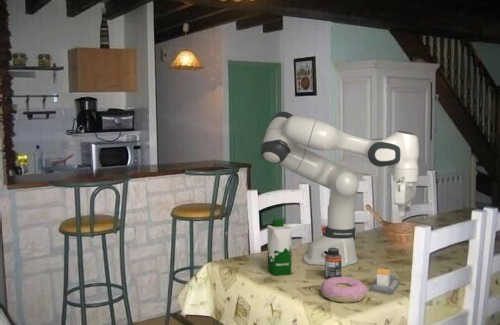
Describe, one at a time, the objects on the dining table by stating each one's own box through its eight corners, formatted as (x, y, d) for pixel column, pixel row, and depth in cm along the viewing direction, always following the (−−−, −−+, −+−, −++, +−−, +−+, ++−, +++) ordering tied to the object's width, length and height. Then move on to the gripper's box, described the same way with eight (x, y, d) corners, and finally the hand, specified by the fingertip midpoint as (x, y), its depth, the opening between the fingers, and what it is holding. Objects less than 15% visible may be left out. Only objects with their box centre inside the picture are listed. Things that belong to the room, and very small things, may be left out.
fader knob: (378, 282, 179) (379, 268, 178) (389, 284, 177) (390, 269, 176) (376, 286, 175) (376, 271, 175) (387, 287, 173) (387, 272, 173)
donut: (342, 308, 160) (342, 293, 159) (311, 294, 172) (311, 280, 172) (377, 298, 168) (377, 284, 167) (344, 285, 181) (344, 272, 180)
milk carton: (286, 268, 201) (286, 218, 199) (294, 275, 192) (294, 223, 191) (265, 270, 199) (265, 219, 197) (272, 277, 190) (272, 224, 188)
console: (378, 279, 187) (378, 273, 187) (400, 282, 183) (400, 276, 183) (369, 291, 175) (369, 284, 174) (392, 294, 171) (392, 288, 171)
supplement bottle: (330, 275, 192) (330, 245, 191) (344, 278, 188) (344, 248, 187) (322, 279, 188) (322, 249, 187) (336, 282, 184) (336, 251, 183)
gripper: (408, 179, 174) (407, 219, 175) (419, 173, 192) (418, 209, 193) (390, 178, 177) (389, 217, 178) (402, 172, 195) (401, 208, 196)
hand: (404, 213), depth 186 cm, fingers open, 8 cm apart
